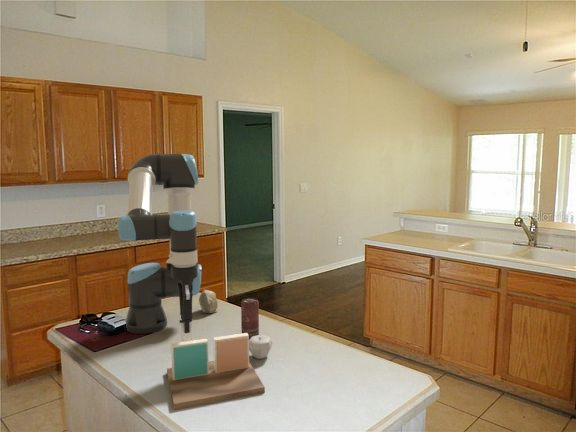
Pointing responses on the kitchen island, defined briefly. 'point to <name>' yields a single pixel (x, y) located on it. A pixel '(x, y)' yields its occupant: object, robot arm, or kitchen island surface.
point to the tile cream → (231, 352)
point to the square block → (189, 359)
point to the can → (250, 316)
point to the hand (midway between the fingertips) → (186, 341)
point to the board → (214, 386)
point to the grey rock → (208, 301)
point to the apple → (260, 346)
